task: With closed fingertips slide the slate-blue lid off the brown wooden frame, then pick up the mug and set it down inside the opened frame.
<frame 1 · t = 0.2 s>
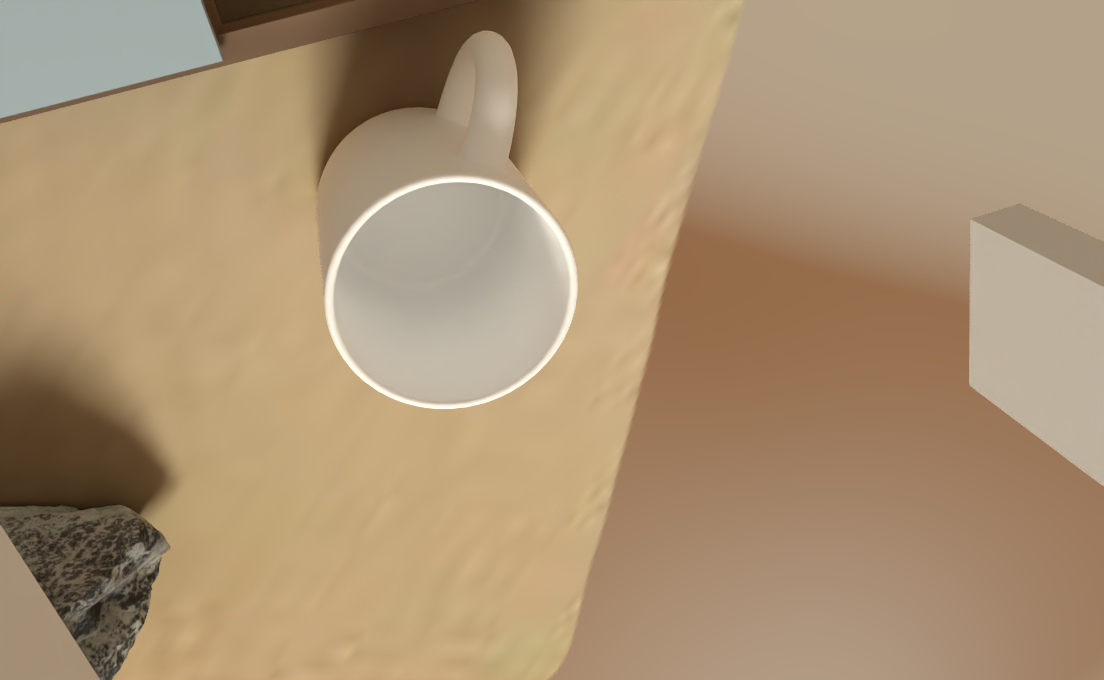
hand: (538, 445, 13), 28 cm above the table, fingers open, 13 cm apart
mug: (428, 158, 39), on the table
stone: (33, 561, 43), on the table
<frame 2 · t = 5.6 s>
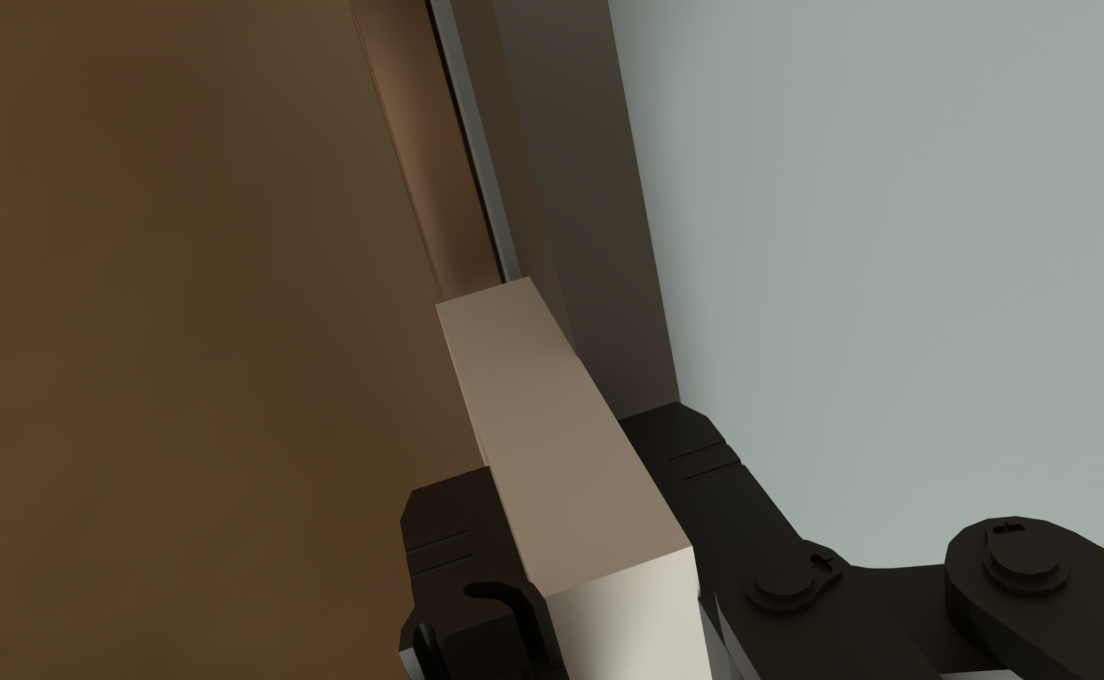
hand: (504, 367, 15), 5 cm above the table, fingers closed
lid: (1073, 205, 15), point 5 cm above the table, slide at 1.1 cm, touching gripper
brown wooden frame: (842, 140, 20), on the table
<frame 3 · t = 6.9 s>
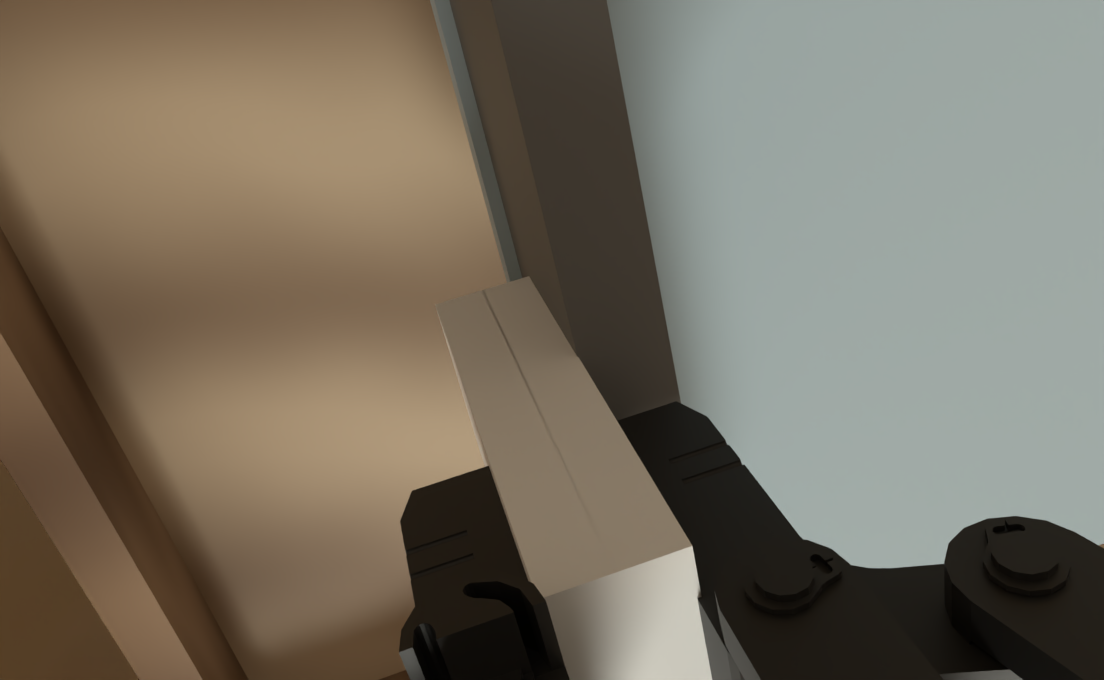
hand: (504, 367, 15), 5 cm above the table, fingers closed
lid: (1073, 204, 15), point 5 cm above the table, slide at 8.6 cm, touching gripper
brown wooden frame: (498, 246, 19), on the table
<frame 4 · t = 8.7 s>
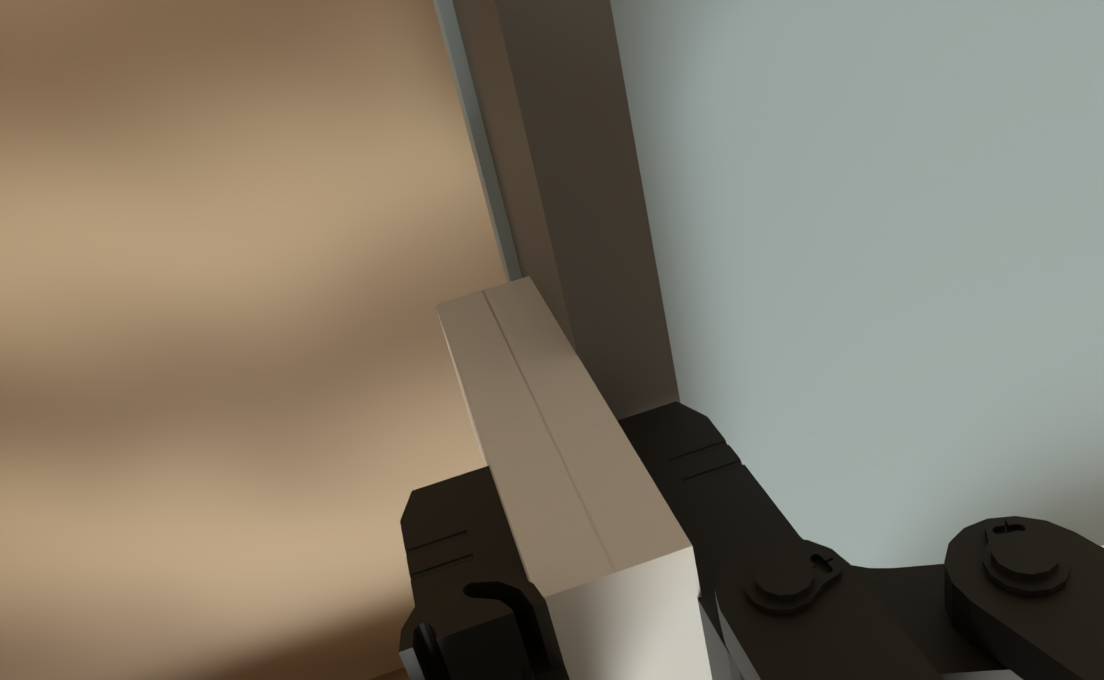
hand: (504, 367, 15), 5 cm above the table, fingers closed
lid: (1072, 207, 15), point 5 cm above the table, slide at 15.4 cm, touching gripper
brown wooden frame: (164, 344, 18), on the table
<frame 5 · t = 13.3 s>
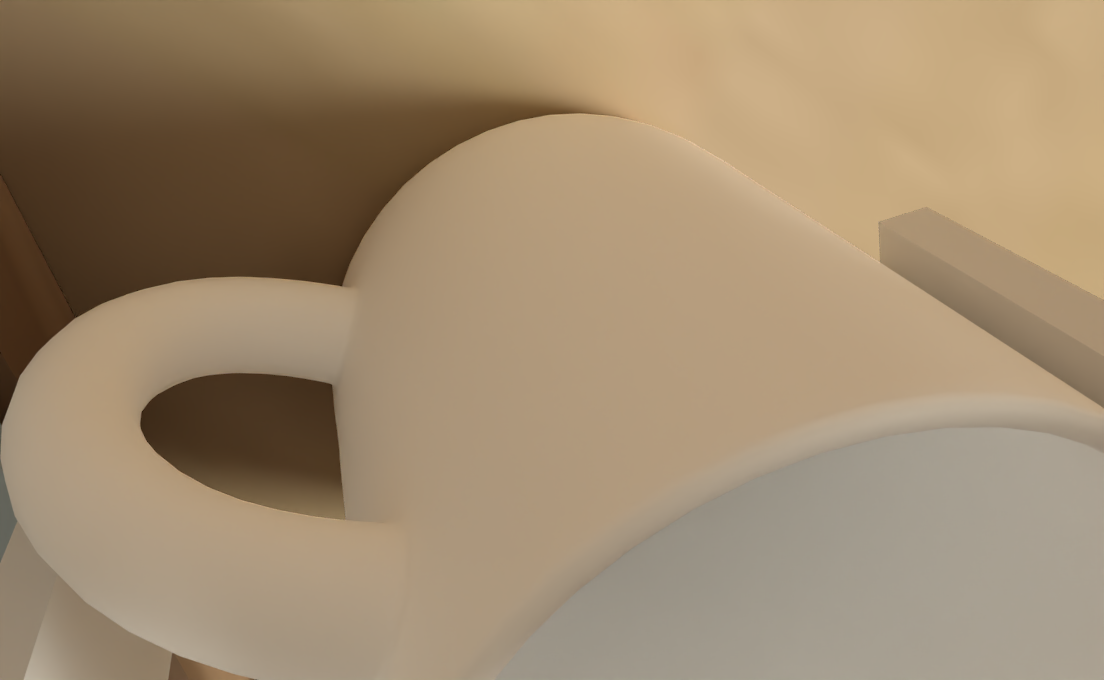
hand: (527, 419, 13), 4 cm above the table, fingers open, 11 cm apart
mug: (458, 300, 17), on the table, touching gripper
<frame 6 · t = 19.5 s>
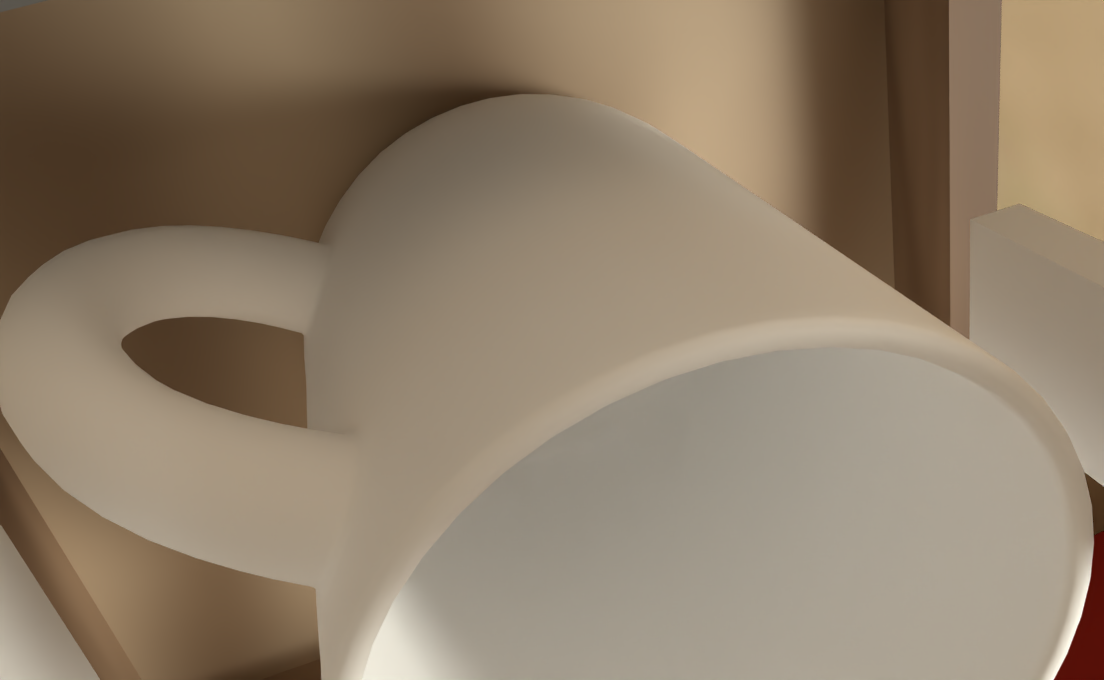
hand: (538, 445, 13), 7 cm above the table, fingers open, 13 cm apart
brown wooden frame: (454, 255, 19), on the table
mug: (427, 268, 18), point 1 cm above the table, touching brown wooden frame
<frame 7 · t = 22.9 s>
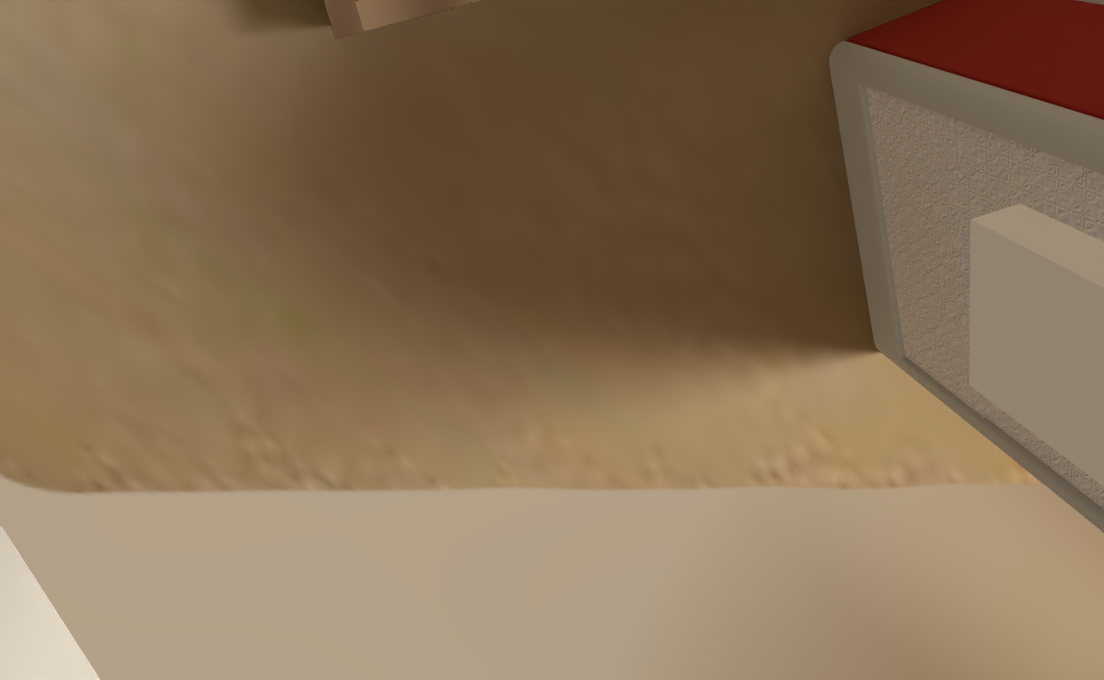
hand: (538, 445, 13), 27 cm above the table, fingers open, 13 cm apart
red striped arch block: (1017, 145, 45), on the table
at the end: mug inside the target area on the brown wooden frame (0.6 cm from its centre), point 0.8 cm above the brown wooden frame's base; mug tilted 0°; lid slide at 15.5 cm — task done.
